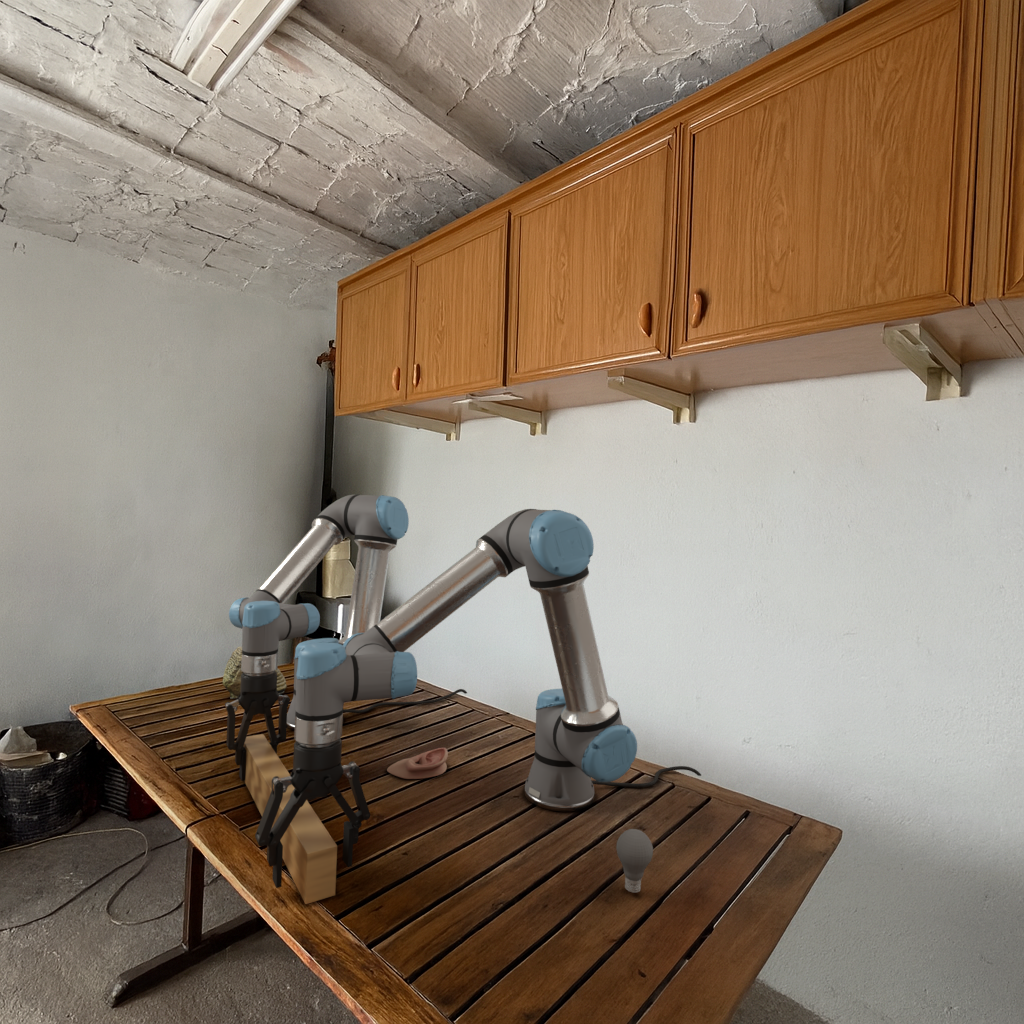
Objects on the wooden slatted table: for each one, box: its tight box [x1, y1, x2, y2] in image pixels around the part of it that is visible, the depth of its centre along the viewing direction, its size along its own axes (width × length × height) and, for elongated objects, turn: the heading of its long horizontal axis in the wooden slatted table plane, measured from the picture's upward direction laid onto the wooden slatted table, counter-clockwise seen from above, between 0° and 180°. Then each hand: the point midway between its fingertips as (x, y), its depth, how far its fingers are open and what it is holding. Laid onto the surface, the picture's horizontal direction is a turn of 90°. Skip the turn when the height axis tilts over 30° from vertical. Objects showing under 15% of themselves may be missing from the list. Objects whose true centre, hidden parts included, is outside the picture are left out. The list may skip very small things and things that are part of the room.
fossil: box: [222, 646, 288, 699], centre depth 198 cm, size 9×18×15 cm, turn 132°
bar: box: [244, 733, 338, 905], centre depth 122 cm, size 54×5×8 cm, turn 33°
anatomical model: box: [386, 747, 449, 780], centre depth 149 cm, size 13×4×12 cm
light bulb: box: [615, 828, 654, 894], centre depth 106 cm, size 6×6×10 cm
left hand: (255, 775), depth 141 cm, fingers closed on bar, 5 cm apart
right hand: (313, 872), depth 104 cm, fingers open, 11 cm apart
